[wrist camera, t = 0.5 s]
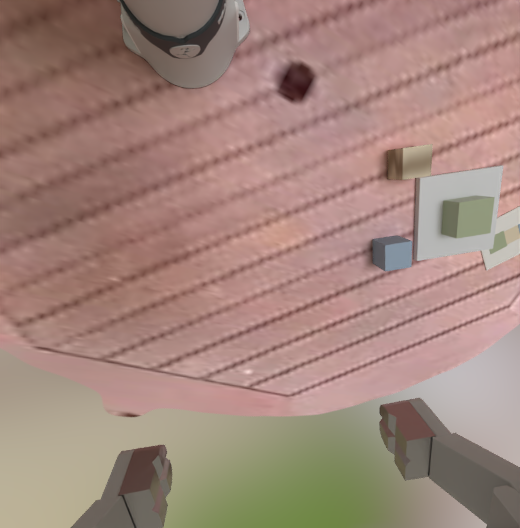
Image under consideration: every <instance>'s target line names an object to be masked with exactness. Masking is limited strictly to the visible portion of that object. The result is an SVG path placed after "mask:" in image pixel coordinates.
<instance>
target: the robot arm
mask: <svg viewBox="0 0 520 528" xmlns="http://www.w3.org/2000/svg"><path fill="white" fill-rule="evenodd" d="M117 1H118V2H120V3H121V15H120V18H121V21H122V31H123V40H124V43H125V44H126V46H127V48H128V49H129V50H131V51H132V52H134V53H135V54H137V55H139V56H141V57H143V58H144V59H145V60H147V61H148V63H149V64H150V65H151V66H152V67H153V68H154V70H155V71H156V72H157V73H158V74H159V75H160V76H162V77H163V78H164V79H166V80H167V81H169V82H170V83H172V84H175V85H177V86H180V87H184V88H200V87H204V86H207V85H209V84H211V83H213V82H214V81H216V80H217V79H218V78H220V77H221V76H222V75H223V73H224V72H225V71H226V69H227V68H228V66H229V64H230V62H231V60H232V58H233V55H234V52H235V50H236V48H237V47H238V46H239V45H240V44H241V43H242V42H243V41H244V40H245V39H246V37H247V36H248V34H249V32H250V25H249V20H248V17H247V14H246V10H245V7H244V3H243V0H117ZM239 16H240V17H241V18H242V20H241V21H239ZM380 415H381V416H382V419H381V421H380V433H381V437H382V439H383V441H384V444H385V445H386V448H387V449H388V451H390V452H391V453H393V454H394V455H395V464H396V465H397V467H398V469H399V471H400V472H401V474H402V476H403V478H404V479H405V480H411V479H417V478H423V477H429V478H430V479H431V480H432V481H434V482H435V483H436V484H437V485H438V486H440V487H441V488H442V489H444V490H445V491H446V492H447V493H449V494H450V495H451V496H452V497H453V498H455V499H456V500H457V501H458V502H460V503H461V504H462V505H464V506H465V507H466V508H467V509H468V510H470V511H471V512H472V513H474V514H475V515H476V516H477V517H479V518H480V519H481V520H482V521H483V522H485V523H486V524H487V527H486V528H520V467H518V466H516V465H514V464H512V463H510V462H509V461H507V460H505V459H503V458H501V457H499V456H497V455H496V454H494V453H492V452H490V451H488V450H486V449H484V448H482V447H481V446H479V445H477V444H475V443H473V442H471V441H469V440H467V439H465V438H464V437H462V436H460V435H458V434H456V433H453V434H451V433H450V432H449V430H448V429H447V428H446V427H445V426H444V425H443V423H442V422H441V421H440V420H439V419H438V417H437V416H436V415H435V414H434V413H433V412H432V410H431V409H430V408H429V407H428V406H427V405H426V403H425V402H424V401H423V400H422V399H420V398H416V399H410V400H406V401H399V402H394V403H389V404H383V405H381V406H380ZM166 454H167V451H166V447H165V445H158V446H151V447H144V448H138V449H132V450H126V451H121V453H120V454H119V455H118V457H117V460H116V462H115V465H114V467H113V470H112V472H111V475H110V478H109V480H108V482H107V485H106V487H105V490H104V492H103V495H102V497H101V500H96V501H95V502H94V503H93V504H92V506H91V507H90V508H89V509H88V510H87V511H86V512H85V513H84V514H83V515H82V516H81V517H80V518H79V519H78V520H77V521H76V523H75V524H74V525H73V526H72V527H71V528H163V526H164V522H165V516H166V511H167V506H168V505H167V502H166V499H165V498H166V496H167V495H168V494H169V492H170V490H171V484H172V467H171V463H170V460H168V459H167V458H166Z"/></svg>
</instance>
